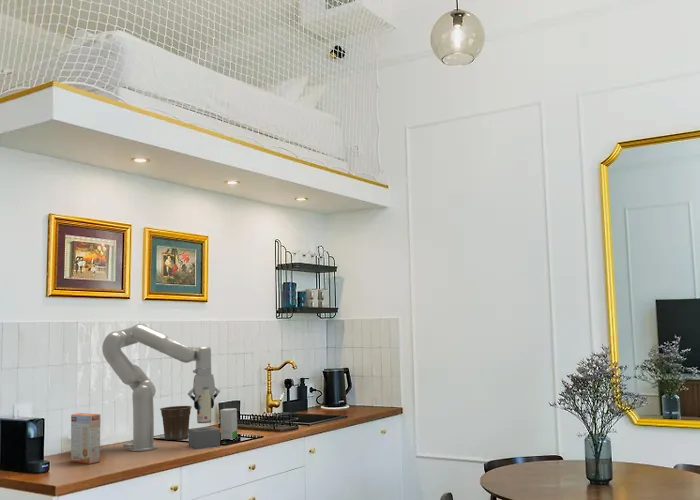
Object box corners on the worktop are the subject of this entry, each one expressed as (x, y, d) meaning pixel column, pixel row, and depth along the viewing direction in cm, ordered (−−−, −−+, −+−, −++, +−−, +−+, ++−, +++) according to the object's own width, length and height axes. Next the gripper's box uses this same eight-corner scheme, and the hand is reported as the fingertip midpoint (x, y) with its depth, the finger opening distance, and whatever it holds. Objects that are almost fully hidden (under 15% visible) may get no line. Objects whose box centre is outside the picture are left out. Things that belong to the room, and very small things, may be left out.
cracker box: (101, 462, 312) (101, 413, 314) (88, 464, 307) (89, 415, 309) (82, 459, 320) (82, 412, 322) (70, 461, 315) (70, 414, 317)
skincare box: (232, 441, 358) (231, 409, 360) (219, 441, 360) (219, 410, 361) (237, 438, 366) (237, 407, 368) (225, 438, 368) (225, 408, 369)
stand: (195, 449, 339) (195, 431, 339) (188, 445, 349) (188, 429, 350) (220, 446, 344) (219, 429, 345) (212, 442, 355) (212, 426, 356)
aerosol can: (195, 422, 350) (195, 381, 352) (209, 420, 352) (209, 380, 354) (198, 423, 343) (198, 381, 345) (212, 422, 346) (212, 380, 348)
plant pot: (154, 439, 373) (154, 408, 374) (180, 435, 384) (180, 404, 386) (171, 442, 362) (171, 409, 363) (198, 437, 373) (197, 406, 375)
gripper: (188, 373, 343) (188, 410, 341) (222, 371, 351) (223, 407, 349) (184, 372, 349) (184, 409, 348) (218, 370, 358) (218, 406, 356)
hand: (204, 408), depth 349 cm, fingers closed on aerosol can, 6 cm apart
